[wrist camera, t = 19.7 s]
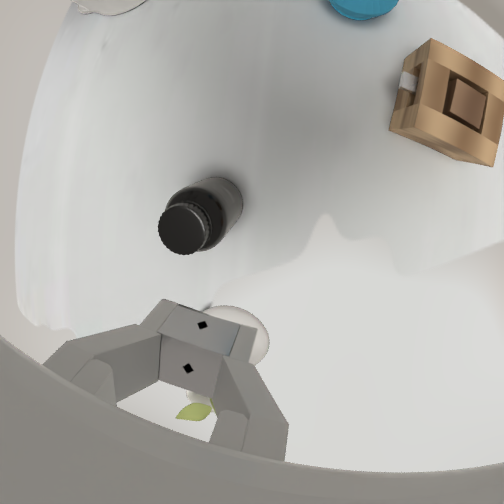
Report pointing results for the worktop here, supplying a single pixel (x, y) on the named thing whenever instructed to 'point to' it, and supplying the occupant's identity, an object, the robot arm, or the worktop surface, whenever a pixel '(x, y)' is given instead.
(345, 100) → the worktop surface
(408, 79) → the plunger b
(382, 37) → the worktop surface
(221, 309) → the flower in vase
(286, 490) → the robot arm
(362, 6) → the perfume bottle
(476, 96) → the peg
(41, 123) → the worktop surface
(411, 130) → the socket block
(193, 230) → the supplement bottle
